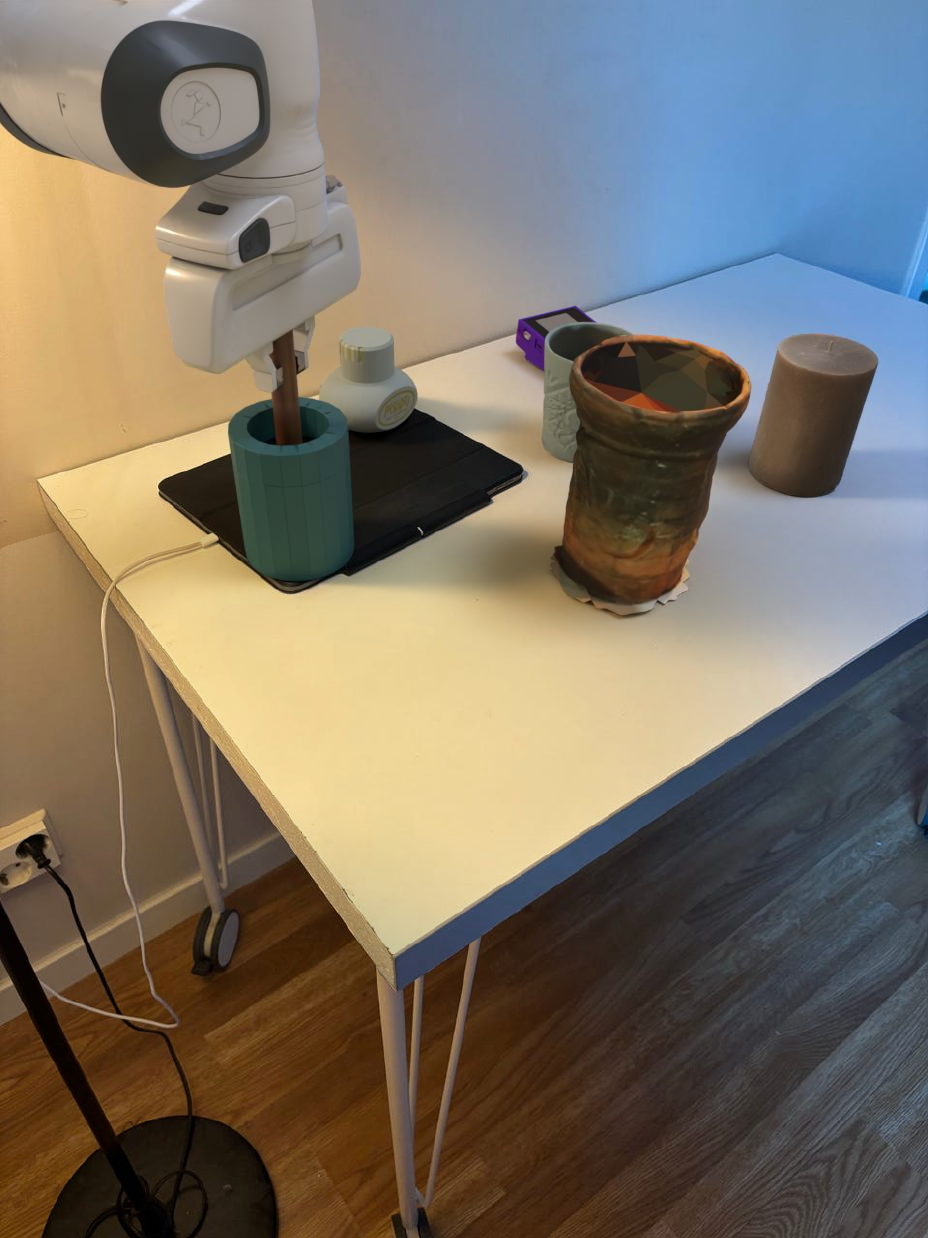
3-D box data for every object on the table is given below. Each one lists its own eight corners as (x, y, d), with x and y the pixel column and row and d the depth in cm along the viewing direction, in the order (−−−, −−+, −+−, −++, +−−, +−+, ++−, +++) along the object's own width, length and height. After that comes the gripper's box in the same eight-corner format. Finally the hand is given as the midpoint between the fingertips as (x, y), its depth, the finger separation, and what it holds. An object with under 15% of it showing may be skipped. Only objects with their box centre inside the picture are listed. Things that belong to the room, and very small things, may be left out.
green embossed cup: (589, 414, 111) (602, 314, 103) (646, 454, 104) (664, 350, 96) (517, 435, 106) (525, 333, 99) (571, 478, 100) (584, 372, 92)
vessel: (736, 596, 86) (793, 393, 73) (598, 635, 81) (633, 426, 68) (650, 512, 96) (686, 320, 83) (522, 543, 91) (540, 344, 78)
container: (223, 560, 87) (203, 435, 79) (287, 507, 94) (274, 386, 86) (315, 594, 84) (304, 467, 76) (374, 536, 91) (369, 414, 83)
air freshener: (373, 392, 113) (371, 310, 107) (428, 414, 109) (428, 330, 103) (309, 427, 106) (301, 342, 100) (364, 451, 103) (360, 365, 96)
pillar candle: (848, 500, 98) (896, 365, 89) (753, 494, 99) (790, 358, 89) (828, 452, 106) (870, 322, 96) (740, 446, 106) (772, 316, 96)
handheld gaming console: (591, 376, 110) (518, 315, 118) (583, 414, 114) (512, 353, 122) (652, 359, 114) (577, 301, 122) (642, 396, 118) (570, 338, 126)
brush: (265, 517, 86) (241, 325, 74) (290, 496, 89) (272, 307, 77) (302, 530, 84) (284, 336, 73) (327, 508, 87) (313, 318, 76)
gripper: (309, 162, 77) (320, 326, 86) (136, 234, 63) (170, 421, 72) (376, 175, 75) (380, 341, 84) (213, 253, 61) (238, 443, 70)
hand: (282, 379), depth 78 cm, fingers closed on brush, 2 cm apart
